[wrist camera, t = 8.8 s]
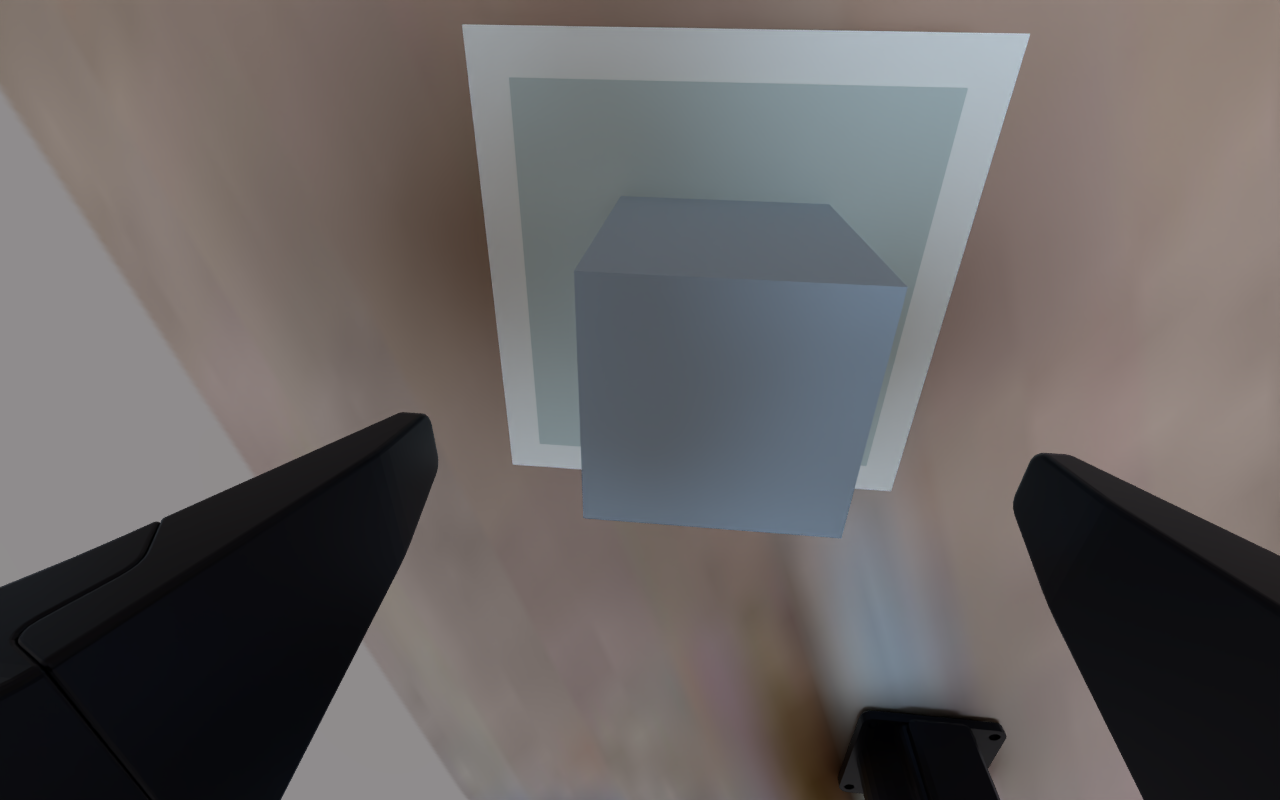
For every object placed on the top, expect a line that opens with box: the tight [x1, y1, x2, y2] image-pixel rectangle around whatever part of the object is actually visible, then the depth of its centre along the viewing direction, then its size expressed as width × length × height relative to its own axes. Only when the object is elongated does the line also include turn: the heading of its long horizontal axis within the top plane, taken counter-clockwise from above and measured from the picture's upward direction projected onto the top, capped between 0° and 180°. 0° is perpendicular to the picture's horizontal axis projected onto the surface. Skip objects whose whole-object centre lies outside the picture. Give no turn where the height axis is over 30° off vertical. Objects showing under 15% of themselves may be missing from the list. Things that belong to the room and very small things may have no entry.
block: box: [574, 196, 908, 538], centre depth 12 cm, size 5×5×6 cm
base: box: [462, 24, 1030, 491], centre depth 16 cm, size 12×12×3 cm
